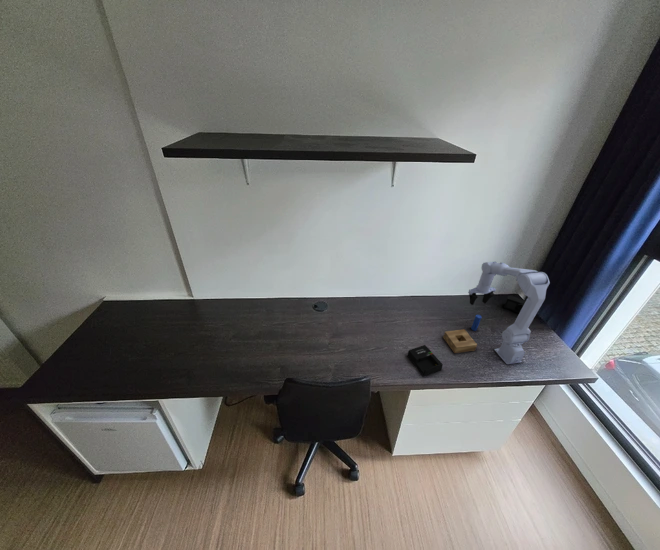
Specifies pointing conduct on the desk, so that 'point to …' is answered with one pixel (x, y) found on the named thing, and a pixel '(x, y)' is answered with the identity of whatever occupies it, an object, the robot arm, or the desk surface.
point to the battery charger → (424, 360)
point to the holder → (459, 341)
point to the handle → (476, 322)
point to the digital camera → (514, 304)
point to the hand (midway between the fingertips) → (477, 303)
